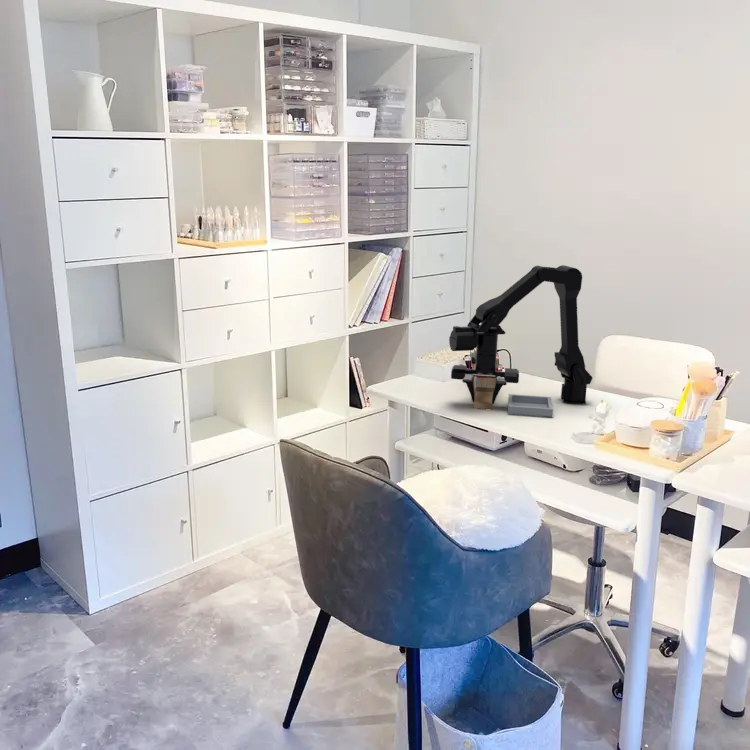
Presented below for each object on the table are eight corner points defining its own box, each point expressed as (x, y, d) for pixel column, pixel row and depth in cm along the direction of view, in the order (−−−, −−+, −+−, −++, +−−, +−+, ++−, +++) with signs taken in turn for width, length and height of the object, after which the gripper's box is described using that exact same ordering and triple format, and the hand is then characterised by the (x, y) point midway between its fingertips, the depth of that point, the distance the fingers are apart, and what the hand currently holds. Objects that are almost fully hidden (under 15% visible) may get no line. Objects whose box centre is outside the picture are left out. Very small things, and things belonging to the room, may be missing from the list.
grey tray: (550, 405, 222) (551, 396, 222) (552, 418, 211) (552, 409, 210) (508, 402, 224) (508, 394, 224) (507, 414, 213) (508, 406, 212)
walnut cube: (492, 404, 222) (493, 388, 220) (491, 409, 217) (492, 392, 216) (474, 403, 222) (475, 386, 221) (473, 408, 218) (474, 391, 216)
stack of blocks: (468, 378, 250) (470, 341, 246) (488, 378, 250) (490, 341, 246) (475, 397, 229) (478, 357, 226) (496, 397, 229) (499, 357, 226)
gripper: (520, 345, 221) (516, 397, 226) (455, 341, 224) (452, 393, 229) (520, 354, 211) (516, 408, 215) (452, 350, 214) (449, 403, 218)
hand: (483, 403), depth 219 cm, fingers closed on walnut cube, 5 cm apart
